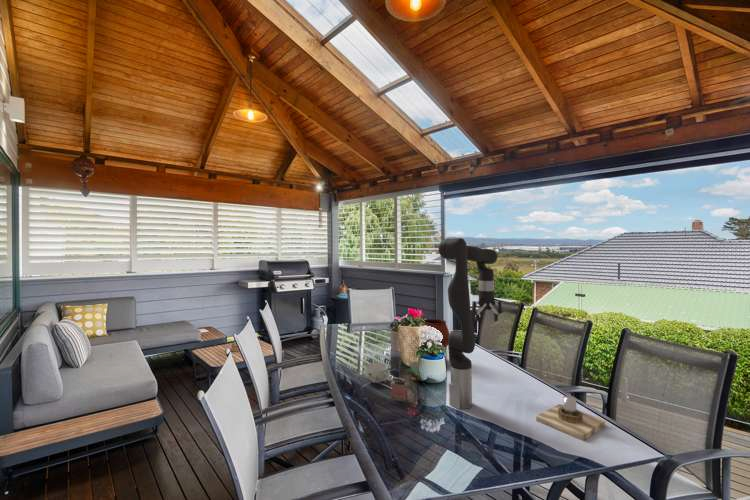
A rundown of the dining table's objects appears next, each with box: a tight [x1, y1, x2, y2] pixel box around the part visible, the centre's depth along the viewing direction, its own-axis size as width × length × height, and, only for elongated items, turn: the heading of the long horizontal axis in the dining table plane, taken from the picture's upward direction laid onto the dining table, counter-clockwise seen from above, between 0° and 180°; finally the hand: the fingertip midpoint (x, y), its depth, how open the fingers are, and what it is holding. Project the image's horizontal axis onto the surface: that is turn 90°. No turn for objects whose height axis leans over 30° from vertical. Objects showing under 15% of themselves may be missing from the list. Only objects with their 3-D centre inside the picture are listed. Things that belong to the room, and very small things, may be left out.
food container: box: [408, 360, 421, 382], centre depth 187 cm, size 12×6×10 cm, turn 117°
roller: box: [563, 395, 577, 416], centre depth 140 cm, size 4×4×8 cm
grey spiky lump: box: [364, 361, 389, 384], centre depth 185 cm, size 15×12×8 cm
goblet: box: [422, 318, 450, 349], centre depth 217 cm, size 19×19×25 cm
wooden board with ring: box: [535, 403, 606, 442], centre depth 140 cm, size 18×18×4 cm
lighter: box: [390, 376, 409, 402], centre depth 164 cm, size 8×3×10 cm, turn 65°
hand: (486, 321), depth 176 cm, fingers open, 8 cm apart
